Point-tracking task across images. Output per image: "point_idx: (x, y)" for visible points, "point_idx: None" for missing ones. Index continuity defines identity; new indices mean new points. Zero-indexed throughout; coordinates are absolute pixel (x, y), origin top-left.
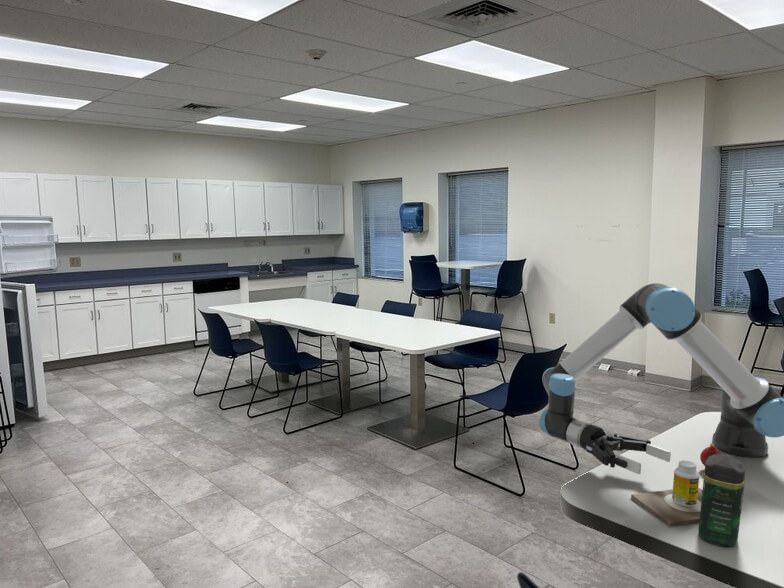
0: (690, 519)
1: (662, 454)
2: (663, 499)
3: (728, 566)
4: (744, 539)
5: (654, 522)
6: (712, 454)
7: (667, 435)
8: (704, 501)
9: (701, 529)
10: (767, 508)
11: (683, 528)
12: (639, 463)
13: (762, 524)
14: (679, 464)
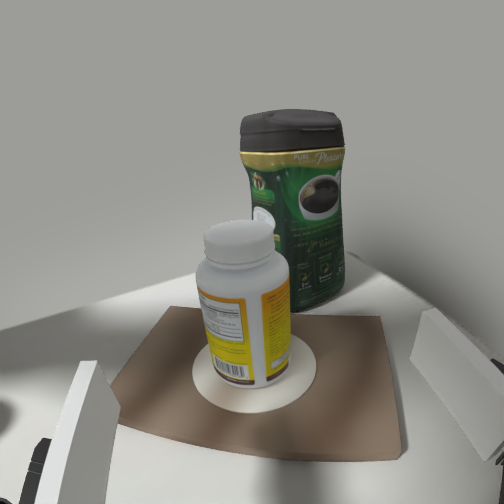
0: (316, 315)
1: (98, 418)
2: (301, 399)
3: (353, 254)
4: None
5: (405, 341)
6: None
7: None
8: (341, 211)
9: (344, 270)
10: (88, 313)
11: None
12: (431, 313)
13: (167, 292)
14: (269, 238)
